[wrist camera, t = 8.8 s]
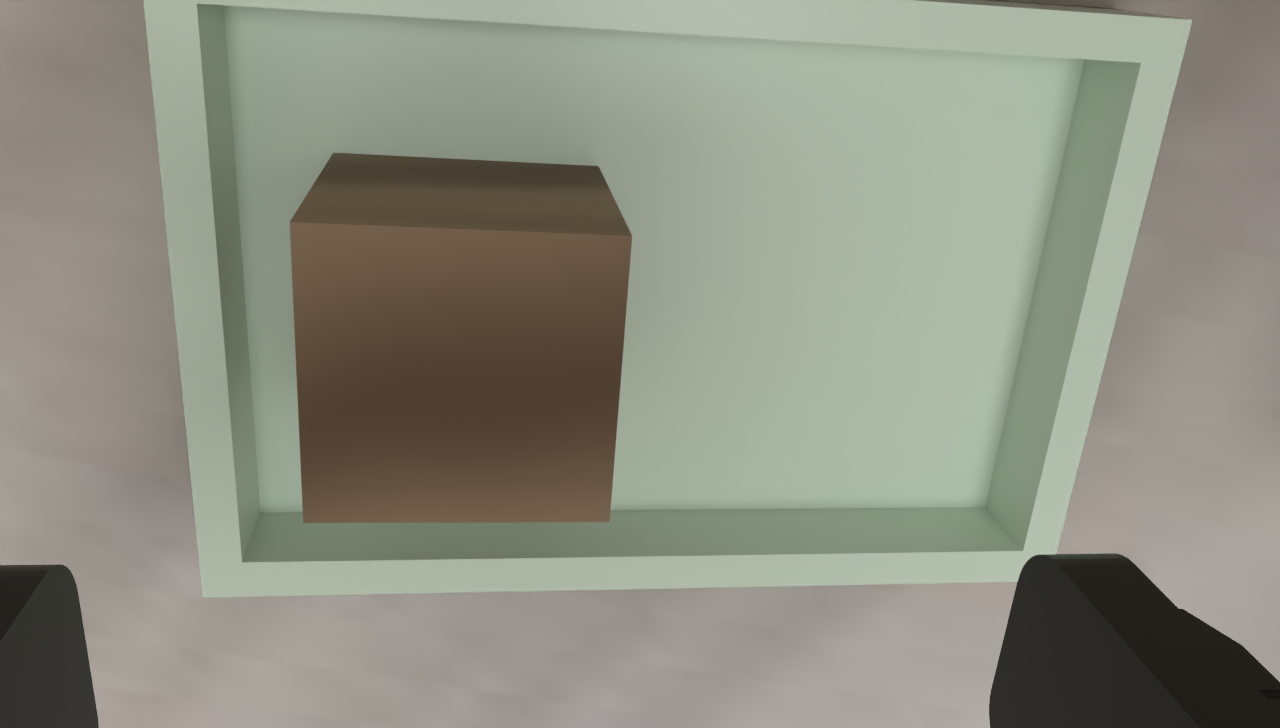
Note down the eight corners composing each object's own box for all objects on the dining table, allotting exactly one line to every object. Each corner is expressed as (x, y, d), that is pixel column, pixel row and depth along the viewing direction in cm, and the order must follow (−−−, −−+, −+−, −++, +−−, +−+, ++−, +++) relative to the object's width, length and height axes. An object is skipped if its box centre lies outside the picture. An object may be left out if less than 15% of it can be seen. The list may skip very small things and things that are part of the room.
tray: (179, -58, 19) (138, -54, 16) (1116, 9, 22) (1192, 19, 19) (229, 530, 23) (202, 597, 21) (999, 523, 26) (1049, 580, 24)
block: (333, 153, 20) (289, 221, 15) (598, 166, 21) (632, 236, 16) (340, 396, 22) (303, 522, 17) (583, 399, 23) (609, 522, 18)
